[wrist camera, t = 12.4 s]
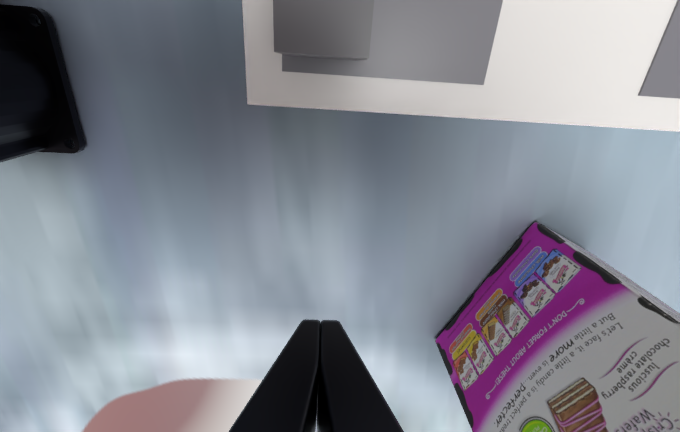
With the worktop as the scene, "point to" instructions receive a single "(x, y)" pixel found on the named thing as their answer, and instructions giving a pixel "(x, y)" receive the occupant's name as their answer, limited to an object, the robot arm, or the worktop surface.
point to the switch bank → (488, 62)
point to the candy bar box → (563, 346)
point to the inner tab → (323, 28)
